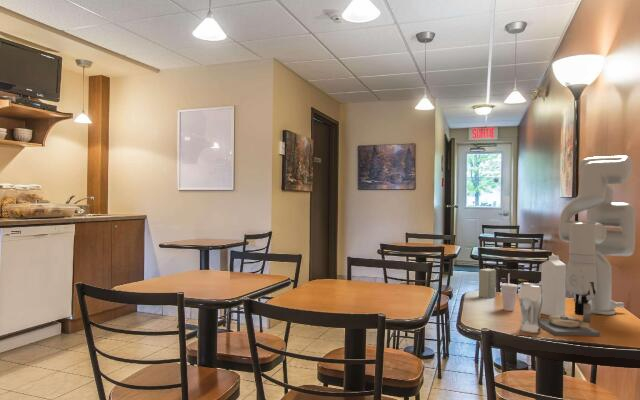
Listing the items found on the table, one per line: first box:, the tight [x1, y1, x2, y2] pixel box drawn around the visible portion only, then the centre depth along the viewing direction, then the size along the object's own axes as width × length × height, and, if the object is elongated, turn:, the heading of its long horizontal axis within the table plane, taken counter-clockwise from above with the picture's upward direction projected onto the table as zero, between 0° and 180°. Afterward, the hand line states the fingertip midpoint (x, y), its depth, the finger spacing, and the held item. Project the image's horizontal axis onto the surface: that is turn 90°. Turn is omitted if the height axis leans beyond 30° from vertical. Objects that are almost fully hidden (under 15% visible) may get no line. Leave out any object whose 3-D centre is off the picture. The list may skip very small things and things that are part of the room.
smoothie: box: [500, 272, 519, 312], centre depth 174 cm, size 6×6×14 cm
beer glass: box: [518, 282, 543, 334], centre depth 146 cm, size 7×7×15 cm
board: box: [540, 317, 601, 337], centre depth 149 cm, size 14×16×2 cm
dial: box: [548, 304, 592, 328], centre depth 149 cm, size 9×11×7 cm
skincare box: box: [478, 267, 497, 299], centre depth 197 cm, size 6×4×12 cm
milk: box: [540, 254, 567, 316], centre depth 168 cm, size 6×6×22 cm
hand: (580, 314), depth 149 cm, fingers closed
